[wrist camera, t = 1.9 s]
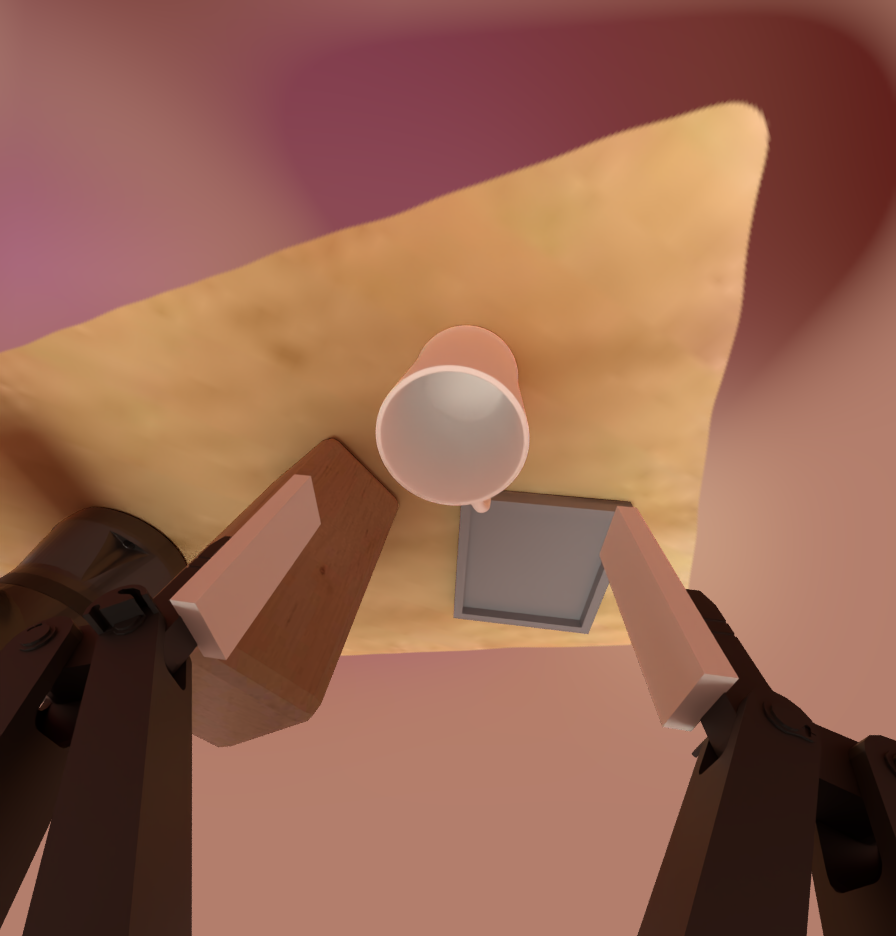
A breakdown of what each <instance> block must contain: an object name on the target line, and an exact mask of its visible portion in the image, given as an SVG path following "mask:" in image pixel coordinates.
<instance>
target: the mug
mask: <svg viewBox="0 0 896 936" xmlns="http://www.w3.org/2000/svg"><path fill="white" fill-rule="evenodd" d="M529 441H530V435H529V426H528V421H527V417H526V413H525V409H524V405H523V401H522V397H521V393H520V389H519V385H518V369H517V364H516V361H515V358H514V356H513V354H512V352H511V350H510V349H509V347H508V346H507V344H506V343H505V342H504V341H503V340H502V339H501V338H500V337H498V336H497V335H496V334H494V333H493V332H491V331H489V330H487V329H484V328H481V327H478V326H472V325H460V326H454V327H451V328H448V329H445V330H443V331H441V332H439V333H438V334H436V335H435V336H434V337H432V338H431V339H430V340H429V341H428V342H427V343H426V345H425V346H424V347H423V349H422V350H421V352H420V354H419V356H418V359H417V360H416V361H415V363H414V364H413V365H412V366H411V367H410V368H409V370H408V371H407V372H406V373H405V374H404V375H403V377H402V378H401V379H400V380H399V381H398V383H397V384H396V385H395V386H394V387H393V388H392V390H391V391H390V392H389V394H388V395H387V396H386V398H385V400H384V401H383V403H382V405H381V408H380V410H379V413H378V417H377V422H376V442H377V447H378V451H379V454H380V457H381V459H382V461H383V463H384V465H385V467H386V468H387V470H388V471H389V473H390V474H391V475H392V477H393V478H394V479H395V480H396V481H397V482H398V483H399V484H400V485H401V486H403V487H404V488H405V489H406V490H408V491H409V492H411V493H413V494H414V495H416V496H418V497H420V498H422V499H425V500H427V501H430V502H434V503H438V504H443V505H455V506H457V505H469V504H471V505H472V506H473V508H474V509H475V510H476V511H477V512H479V513H484V512H486V511H488V510H489V508H490V503H491V497H493V496H495V495H497V494H498V493H500V492H501V491H503V490H504V489H505V488H507V487H508V486H509V485H510V484H511V483H512V482H513V481H514V479H515V478H516V477H517V476H518V474H519V473H520V471H521V469H522V467H523V465H524V463H525V461H526V458H527V454H528V450H529Z"/></svg>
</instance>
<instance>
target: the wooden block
mask: <svg viewBox="0 0 896 936" xmlns="http://www.w3.org/2000/svg"><path fill="white" fill-rule="evenodd" d="M294 474H296V475H306V476H311V479H312V484H313V488H314V493H315V498H316V503H317V507H318V512H319V517H320V522H321V525H320V526H319V527H318V529H317V530H316V532H315V533H314V535H313V536H312V538H311V539H310V540H309V542H308V543H307V545H306V546H305V548H304V549H303V550H302V552H301V553H300V555H299V556H298V558H297V559H296V561H295V562H294V563H293V565H292V566H291V568H290V569H289V571H288V572H287V573H286V575H285V576H284V578H283V579H282V581H281V582H280V584H279V585H278V586H277V588H276V589H275V591H274V592H273V594H272V595H271V596H270V598H269V599H268V601H267V602H266V604H265V605H264V607H263V608H262V609H261V611H260V612H259V614H258V615H257V617H256V618H255V619H254V621H253V622H252V624H251V625H250V627H249V628H248V630H247V631H246V632H245V634H244V635H243V637H242V638H241V640H240V641H239V642H238V644H237V645H236V647H235V648H234V650H233V651H232V653H231V654H230V655H229V657H228V658H227V660H223V659H216V658H210V657H204V656H203V654H202V653H201V651H200V649H199V648H198V646H197V647H196V648H195V649H194V651H193V652H192V653H191V654H190V658H191V661H192V734H193V735H195V736H197V737H199V738H201V739H203V740H205V741H207V742H210V743H211V744H213V745H215V746H217V747H226V746H233V745H236V744H239V743H242V742H245V741H248V740H251V739H254V738H257V737H260V736H263V735H266V734H269V733H272V732H275V731H278V730H281V729H284V728H287V727H290V726H293V725H296V724H299V723H303V722H306V721H308V720H309V719H310V717H311V716H312V715H313V714H314V713H315V712H316V710H317V709H318V707H319V706H320V704H321V702H322V700H323V697H324V695H325V692H326V690H327V687H328V685H329V682H330V680H331V677H332V675H333V672H334V670H335V667H336V664H337V662H338V659H339V657H340V654H341V652H342V649H343V647H344V644H345V642H346V639H347V637H348V634H349V631H350V629H351V626H352V624H353V621H354V619H355V616H356V614H357V611H358V609H359V606H360V604H361V601H362V598H363V596H364V593H365V591H366V588H367V586H368V583H369V581H370V578H371V576H372V573H373V571H374V568H375V565H376V563H377V560H378V558H379V555H380V553H381V550H382V548H383V545H384V543H385V540H386V538H387V535H388V532H389V530H390V527H391V525H392V522H393V520H394V517H395V515H396V512H397V510H398V502H397V500H396V498H395V497H394V496H393V495H392V494H391V493H390V492H389V491H388V490H387V489H386V488H385V487H384V486H383V485H382V484H381V483H380V482H379V481H378V480H377V479H376V478H375V477H374V476H373V475H372V474H371V473H370V472H369V471H368V470H367V469H366V468H365V467H364V466H363V465H362V464H361V463H360V462H359V461H358V460H357V459H356V458H355V457H354V456H353V455H352V454H351V453H350V452H349V451H348V450H347V449H346V448H345V447H344V446H343V445H342V444H341V443H340V442H339V441H337V440H335V439H333V438H331V439H328V440H324V441H322V442H321V443H319V444H318V445H317V446H316V447H315V448H314V449H312V450H311V451H310V452H309V453H308V454H306V455H305V456H304V457H303V458H302V459H301V460H299V461H298V462H297V463H296V464H295V465H293V466H292V467H291V468H290V469H289V470H288V471H286V472H285V473H284V474H283V475H282V476H281V477H279V478H278V479H277V480H276V481H275V482H274V483H272V484H271V485H270V486H269V487H268V488H267V489H266V490H265V491H264V492H263V493H262V494H261V495H260V496H259V497H258V498H257V499H256V500H255V501H254V502H253V503H252V504H251V505H250V506H249V507H248V508H246V509H245V510H244V511H243V512H242V513H241V514H240V515H239V516H238V517H237V518H236V519H235V520H234V521H233V522H232V523H231V524H230V525H229V526H228V527H227V528H226V529H225V530H224V531H223V532H222V533H221V534H219V535H218V536H217V537H216V538H215V539H214V540H213V541H212V542H211V543H210V544H212V543H214V542H216V541H217V540H219V539H221V538H222V537H224V536H230V537H233V536H234V535H235V533H236V532H237V531H238V530H239V529H240V528H241V527H242V526H243V525H244V524H245V523H246V522H247V521H248V520H249V519H250V518H251V517H252V516H253V515H254V514H255V513H256V512H257V511H258V510H259V509H260V508H261V507H262V506H263V505H264V504H265V503H266V502H267V501H268V500H269V499H270V498H271V497H272V496H273V495H274V494H275V493H276V492H277V491H278V490H279V489H280V488H281V487H282V486H283V485H284V484H285V483H286V482H287V481H288V480H289V479H290V478H291V477H292V476H293V475H294ZM210 544H209V545H210ZM209 545H208V546H209ZM208 546H207V547H208ZM207 547H206V548H207ZM206 548H205V549H206ZM205 549H204V550H205ZM204 550H203V551H204ZM203 551H202V552H203ZM202 552H201V553H202ZM201 553H200V554H201ZM200 554H199V555H200ZM199 555H198V556H199ZM198 556H197V557H196V558H198ZM196 558H195V559H196ZM192 561H193V560H192ZM192 561H191V562H192ZM191 562H190V563H191ZM190 563H189V564H190ZM189 564H188V565H187V566H186V567H187V568H188V566H189ZM186 567H185V568H186ZM185 568H184V569H185ZM184 569H183V570H184ZM183 570H182V571H183ZM182 571H181V572H182ZM181 572H180V573H181ZM180 573H179V574H180ZM179 574H178V575H179ZM178 575H177V576H178ZM177 576H176V577H177ZM176 577H175V578H176ZM175 578H174V579H175ZM165 587H166V586H165ZM165 587H164V588H165ZM164 588H163V589H164ZM163 589H162V590H163ZM162 590H161V591H162ZM161 591H160V592H161ZM160 592H159V593H160ZM159 593H158V594H159ZM158 594H157V595H158ZM157 595H156V596H157ZM156 596H155V597H156ZM155 597H154V598H155ZM154 598H153V599H154Z"/></svg>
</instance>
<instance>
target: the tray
mask: <svg viewBox="0 0 896 936" xmlns="http://www.w3.org/2000/svg"><path fill="white" fill-rule="evenodd" d="M617 506H624V507H633V506H632V504H631V502H625V501H614V500H603V499H592V498H580V497H569V496H558V495H547V494H535V493H524V492H513V491H501V492H500V493H498V494H497V495H495V496H493V497H491V503H490V508H489V510H488V511H486V512H484V513H479V512H477V511H476V510H475V509H474V508H473V506H472V505H471V504H469V505H461V512H460V528H459V543H458V558H457V573H456V588H455V603H454V618H459V619H467V620H475V621H484V622H492V623H500V624H509V625H517V626H525V627H534V628H542V629H551V630H559V631H567V632H576V633H584V634H588V633H589V631H590V628H591V626H592V623H593V621H594V618H595V616H596V613H597V611H598V609H599V606H600V604H601V601H602V599H603V596H604V594H605V592H606V589H607V587H608V584H609V580H608V577H607V575H606V572H605V569H604V566H603V564H602V561H601V558H600V555H599V554H600V551H601V549H602V546H603V543H604V540H605V538H606V535H607V532H608V529H609V527H610V524H611V521H612V519H613V516H614V513H615V510H616V508H617Z"/></svg>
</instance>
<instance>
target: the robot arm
mask: <svg viewBox="0 0 896 936" xmlns="http://www.w3.org/2000/svg"><path fill="white" fill-rule="evenodd" d="M320 525H321V522H320V517H319V512H318V507H317V503H316V498H315V493H314V488H313V484H312V479H311V476H306V475H296V474H294V475H293V476H292V477H291V478H290V479H289V480H288V481H287V482H286V483H285V484H284V485H283V486H282V487H281V488H280V489H279V490H278V491H277V492H276V493H275V494H274V495H273V496H272V497H271V498H270V499H269V500H268V501H267V502H266V503H265V504H264V505H263V506H262V507H261V508H260V509H259V510H258V511H257V512H256V513H255V514H254V515H253V516H252V517H251V518H250V519H249V520H248V521H247V522H246V523H245V524H244V525H243V526H242V527H241V528H240V529H239V530H238V531H237V532H236V533H235V535H234V536H233V537H230V536H224V537H222V538H221V539H219V540H217V541H216V542H214V543H212V544H210V545H209V546H208V547H207V548H206V549H205V550H204V551H203V552H202V553H201V554H200V555H199V556H198V558H196V559H194V560H193V561H192V562H191V563H190V564H189V566H188V568H187V567H186V563H185V561H184V559H183V557H182V556H181V554H180V553H179V551H178V550H177V549H176V548H175V546H174V545H173V544H172V543H171V542H170V541H169V540H168V539H167V538H165V537H164V536H163V535H162V534H161V533H159V532H158V531H157V530H155V529H154V528H152V527H151V526H149V525H148V524H146V523H144V522H142V521H141V520H139V519H137V518H135V517H132V516H130V515H128V514H125V513H122V512H119V511H116V510H112V509H106V508H86V509H82V510H80V511H78V512H76V513H75V514H73V515H71V516H69V517H68V518H66V519H64V520H62V521H61V522H59V523H58V524H57V525H56V526H55V527H54V528H53V529H52V531H51V532H50V533H49V534H48V535H47V536H46V537H45V538H44V539H43V540H42V541H41V542H40V543H39V544H38V545H37V546H36V547H35V548H34V549H33V550H32V551H31V552H30V553H29V554H28V556H27V557H26V558H25V559H24V560H23V561H22V562H21V563H20V564H19V565H18V566H17V567H16V568H15V569H14V570H12V571H11V572H9V573H8V574H6V575H5V576H3V577H1V578H0V928H1V926H2V924H3V922H4V919H5V918H6V915H7V913H8V911H9V909H10V907H11V905H12V903H13V901H14V898H15V896H16V894H17V892H18V890H19V888H20V885H21V883H22V881H23V879H24V877H25V875H26V873H27V871H28V868H29V866H30V864H31V862H32V860H33V858H34V856H35V853H36V851H37V849H38V847H39V845H40V842H41V841H42V839H43V836H44V834H45V832H46V830H47V828H48V826H49V824H50V822H51V824H50V828H49V832H48V836H47V840H46V844H45V848H44V852H43V856H42V859H41V863H40V868H39V872H38V876H37V879H36V884H35V887H34V891H33V895H32V899H31V903H30V907H29V911H28V915H27V919H26V923H25V927H24V931H23V935H22V936H192V931H191V930H192V929H191V928H192V919H191V918H192V917H191V916H192V907H191V906H192V661H191V658H190V654H191V653H192V652H193V651H194V649H195V648H196V647H197V646H198V648H199V649H200V651H201V653H202V654H203V656H204V657H210V658H216V659H223V660H227V658H228V657H229V655H230V654H231V653H232V651H233V650H234V648H235V647H236V645H237V644H238V642H239V641H240V640H241V638H242V637H243V635H244V634H245V632H246V631H247V630H248V628H249V627H250V625H251V624H252V622H253V621H254V619H255V618H256V617H257V615H258V614H259V612H260V611H261V609H262V608H263V607H264V605H265V604H266V602H267V601H268V599H269V598H270V596H271V595H272V594H273V592H274V591H275V589H276V588H277V586H278V585H279V584H280V582H281V581H282V579H283V578H284V576H285V575H286V573H287V572H288V571H289V569H290V568H291V566H292V565H293V563H294V562H295V561H296V559H297V558H298V556H299V555H300V553H301V552H302V550H303V549H304V548H305V546H306V545H307V543H308V542H309V540H310V539H311V538H312V536H313V535H314V533H315V532H316V530H317V529H318V527H319V526H320ZM599 555H600V558H601V561H602V564H603V566H604V569H605V572H606V575H607V577H608V580H609V583H610V585H611V588H612V591H613V594H614V596H615V599H616V602H617V605H618V607H619V610H620V613H621V615H622V618H623V621H624V624H625V626H626V629H627V632H628V635H629V637H630V640H631V643H632V646H633V648H634V651H635V654H636V656H637V659H638V662H639V665H640V667H641V670H642V673H643V676H644V678H645V681H646V684H647V686H648V689H649V692H650V695H651V697H652V700H653V703H654V706H655V708H656V711H657V713H658V716H659V719H660V722H661V725H662V727H667V728H673V729H679V730H686V731H692V730H693V729H694V728H695V726H696V725H697V724H698V723H699V722H700V721H701V723H702V725H703V727H704V729H705V732H706V734H707V736H708V737H707V738H706V739H705V740H704V741H703V742H702V743H701V744H700V745H699V746H698V747H697V748H696V749H695V750H694V752H693V753H692V755H693V756H694V757H697V756H698V755H699V756H698V759H697V762H696V765H695V767H694V770H693V774H692V776H691V779H690V782H689V785H688V788H687V791H686V794H685V797H684V800H683V803H682V806H681V809H680V812H679V815H678V817H677V820H676V824H675V826H674V829H673V832H672V835H671V838H670V842H669V844H668V847H667V850H666V853H665V856H664V859H663V862H662V865H661V868H660V871H659V873H658V877H657V879H656V882H655V885H654V888H653V891H652V894H651V897H650V900H649V903H648V906H647V909H646V912H645V915H644V918H643V921H642V924H641V927H640V929H639V932H638V935H637V936H806V935H807V923H808V910H809V898H810V885H811V872H812V876H813V881H814V886H815V892H816V897H817V902H818V908H819V913H820V919H821V923H822V929H823V935H824V936H896V741H895V740H892V739H889V738H887V737H884V736H881V735H869V736H868V737H866V738H865V739H863V740H862V741H860V742H857V741H854V740H852V739H849V738H847V737H845V736H842V735H840V734H838V733H835V732H833V731H830V730H828V729H826V728H823V727H821V726H819V725H816V724H815V723H813V722H812V720H811V719H810V718H809V717H808V716H807V715H806V714H805V713H804V712H803V711H802V710H801V709H800V708H799V707H798V706H796V705H795V704H794V703H792V702H791V701H790V700H788V699H787V698H785V697H783V696H782V695H780V694H777V693H776V692H774V691H773V690H772V689H771V688H770V687H769V685H768V684H767V682H766V681H765V679H764V678H763V676H762V675H761V673H760V672H759V670H758V668H757V667H756V666H755V664H754V662H753V661H752V659H751V658H750V657H749V655H748V654H747V652H746V650H745V649H744V647H743V646H742V644H741V643H740V641H739V640H738V638H737V637H735V636H734V632H733V631H732V629H731V628H730V626H729V625H728V624H726V620H725V619H724V617H723V616H722V614H721V613H720V611H719V610H718V608H717V607H716V605H715V604H714V603H713V602H712V601H710V599H708V598H707V597H706V596H705V595H704V594H703V593H702V592H701V591H697V590H689V589H685V588H684V586H683V584H682V583H681V581H680V579H679V578H678V576H677V574H676V573H675V571H674V569H673V568H672V566H671V564H670V563H669V561H668V559H667V558H666V556H665V554H664V553H663V551H662V549H661V548H660V546H659V544H658V543H657V541H656V539H655V538H654V536H653V534H652V533H651V531H650V529H649V528H648V526H647V524H646V523H645V521H644V519H643V518H642V516H641V514H640V512H639V511H638V509H637V508H634V507H624V506H617V508H616V510H615V513H614V516H613V519H612V521H611V524H610V527H609V529H608V532H607V535H606V538H605V540H604V543H603V546H602V549H601V551H600V554H599ZM185 567H186V568H185ZM184 568H185V569H184ZM183 569H184V570H183ZM182 570H183V571H182ZM181 571H182V572H181ZM180 572H181V573H180ZM179 573H180V574H179ZM178 574H179V575H178ZM177 575H178V576H177ZM176 576H177V577H176ZM175 577H176V578H175ZM174 578H175V579H174ZM165 586H166V587H165ZM164 587H165V588H164ZM163 588H164V589H163ZM162 589H163V590H162ZM161 590H162V591H161ZM160 591H161V592H160ZM159 592H160V593H159ZM158 593H159V594H158ZM157 594H158V595H157ZM156 595H157V596H156ZM155 596H156V597H155ZM154 597H155V598H154ZM153 598H154V599H153ZM43 702H44V703H43ZM42 703H43V704H42ZM41 704H42V706H41V707H40V705H41ZM39 707H40V708H39ZM51 819H52V820H51Z"/></svg>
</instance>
